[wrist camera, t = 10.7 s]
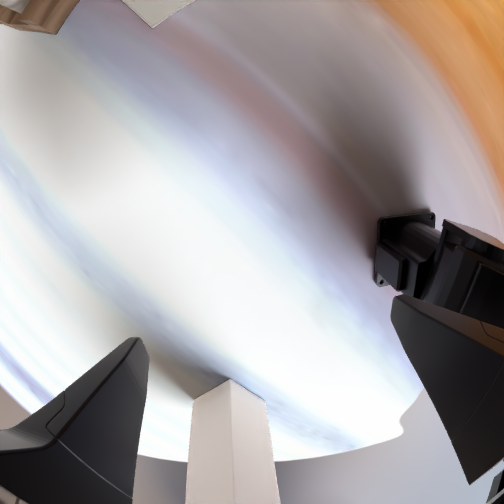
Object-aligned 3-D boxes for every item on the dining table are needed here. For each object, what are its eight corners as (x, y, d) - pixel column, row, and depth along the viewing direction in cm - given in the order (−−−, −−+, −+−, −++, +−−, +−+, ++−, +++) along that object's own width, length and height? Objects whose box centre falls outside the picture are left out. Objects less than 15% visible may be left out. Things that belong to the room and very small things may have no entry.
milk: (265, 400, 29) (294, 576, 8) (228, 419, 30) (238, 578, 9) (229, 377, 27) (241, 584, 6) (191, 399, 28) (183, 578, 7)
